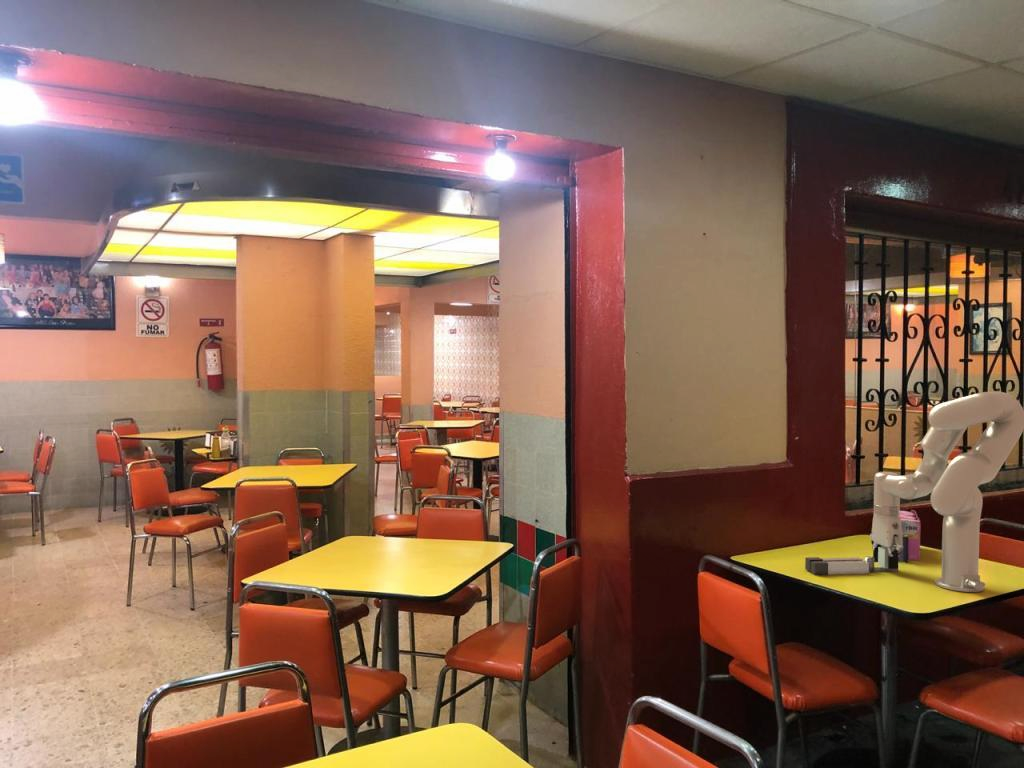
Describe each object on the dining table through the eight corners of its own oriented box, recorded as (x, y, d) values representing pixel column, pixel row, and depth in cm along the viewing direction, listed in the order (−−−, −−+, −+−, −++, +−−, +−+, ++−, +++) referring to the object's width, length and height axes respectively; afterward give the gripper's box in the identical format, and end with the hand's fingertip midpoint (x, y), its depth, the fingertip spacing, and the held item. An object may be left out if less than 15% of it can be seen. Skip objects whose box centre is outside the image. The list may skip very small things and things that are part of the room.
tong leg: (863, 570, 246) (863, 558, 246) (809, 571, 244) (809, 559, 243) (858, 567, 248) (858, 556, 248) (805, 569, 246) (805, 557, 246)
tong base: (903, 573, 244) (903, 559, 244) (814, 575, 240) (815, 561, 240) (894, 569, 248) (894, 555, 248) (807, 571, 245) (807, 557, 245)
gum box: (890, 544, 284) (891, 507, 284) (914, 546, 281) (915, 509, 281) (894, 558, 262) (895, 519, 262) (920, 561, 259) (921, 521, 259)
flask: (878, 558, 263) (879, 527, 263) (882, 556, 265) (883, 525, 265) (906, 563, 256) (907, 531, 256) (910, 562, 258) (910, 530, 258)
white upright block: (893, 568, 245) (893, 549, 245) (884, 568, 244) (884, 549, 244) (886, 565, 248) (887, 546, 248) (878, 565, 248) (878, 547, 248)
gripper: (914, 515, 238) (913, 572, 238) (881, 505, 255) (880, 558, 255) (892, 516, 237) (890, 572, 237) (860, 505, 254) (859, 558, 255)
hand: (885, 564), depth 246 cm, fingers open, 7 cm apart
